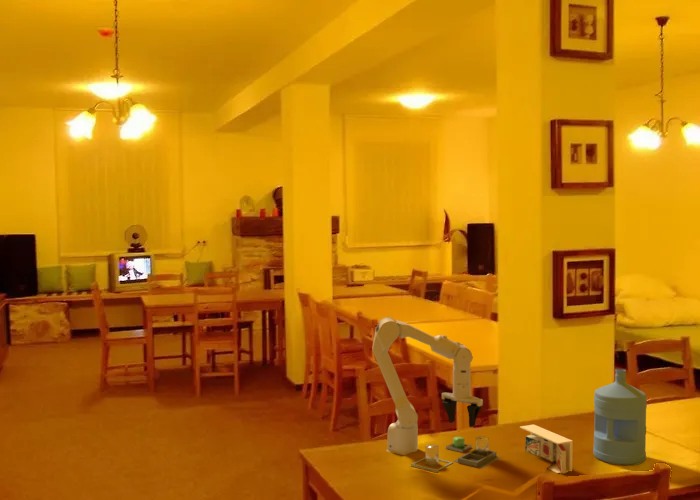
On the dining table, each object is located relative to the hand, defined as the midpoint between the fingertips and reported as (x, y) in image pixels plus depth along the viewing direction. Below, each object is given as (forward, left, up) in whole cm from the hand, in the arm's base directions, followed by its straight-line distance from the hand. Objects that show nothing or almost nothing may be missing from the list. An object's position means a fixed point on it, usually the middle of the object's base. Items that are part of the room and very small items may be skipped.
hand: (461, 424), depth 240 cm
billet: (0, -19, -8) cm, 20 cm away
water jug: (+42, +25, -9) cm, 50 cm away
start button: (-1, -1, -7) cm, 7 cm away
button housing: (-1, -1, -9) cm, 9 cm away
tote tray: (0, -19, -9) cm, 21 cm away
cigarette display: (+26, +6, -9) cm, 28 cm away
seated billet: (+9, -4, -8) cm, 13 cm away
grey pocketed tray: (+9, -7, -9) cm, 15 cm away
